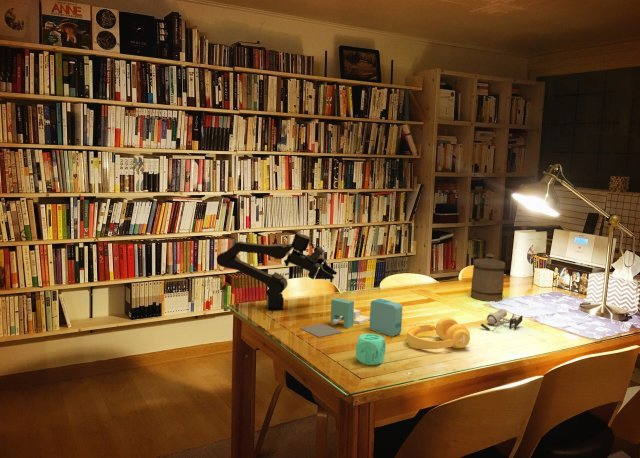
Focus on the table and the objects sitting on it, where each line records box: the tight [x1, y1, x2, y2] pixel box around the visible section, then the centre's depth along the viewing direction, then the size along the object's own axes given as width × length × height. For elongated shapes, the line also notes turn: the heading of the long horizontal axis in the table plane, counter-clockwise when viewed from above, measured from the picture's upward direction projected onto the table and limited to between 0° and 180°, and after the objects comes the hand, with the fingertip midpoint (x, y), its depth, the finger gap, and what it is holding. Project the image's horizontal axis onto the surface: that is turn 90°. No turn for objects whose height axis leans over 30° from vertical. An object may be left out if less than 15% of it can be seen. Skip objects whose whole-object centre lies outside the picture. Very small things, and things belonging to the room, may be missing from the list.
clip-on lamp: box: [479, 308, 523, 332], centre depth 224 cm, size 12×6×18 cm
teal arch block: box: [330, 297, 355, 329], centre depth 219 cm, size 8×4×10 cm, turn 55°
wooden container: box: [470, 253, 506, 302], centre depth 270 cm, size 15×15×22 cm
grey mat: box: [299, 323, 343, 338], centre depth 212 cm, size 12×11×1 cm
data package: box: [369, 298, 403, 337], centre depth 212 cm, size 12×4×12 cm, turn 47°
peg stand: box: [333, 308, 370, 325], centre depth 223 cm, size 10×19×4 cm, turn 145°
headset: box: [406, 316, 471, 350], centre depth 200 cm, size 18×21×9 cm
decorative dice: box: [355, 333, 387, 366], centre depth 182 cm, size 8×8×8 cm
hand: (335, 275), depth 233 cm, fingers open, 9 cm apart
